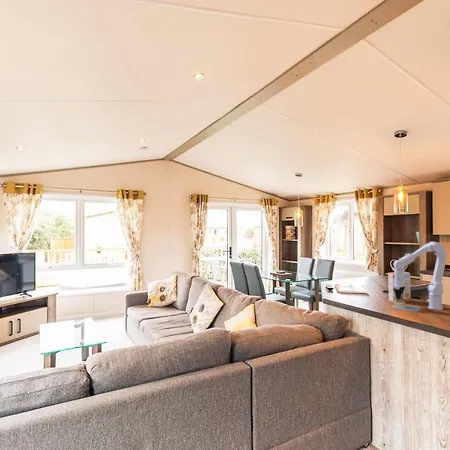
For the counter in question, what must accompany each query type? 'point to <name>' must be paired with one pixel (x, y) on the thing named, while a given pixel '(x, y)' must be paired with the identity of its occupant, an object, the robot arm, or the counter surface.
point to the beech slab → (399, 304)
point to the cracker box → (390, 286)
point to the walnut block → (400, 299)
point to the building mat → (408, 308)
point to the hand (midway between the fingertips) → (399, 298)
